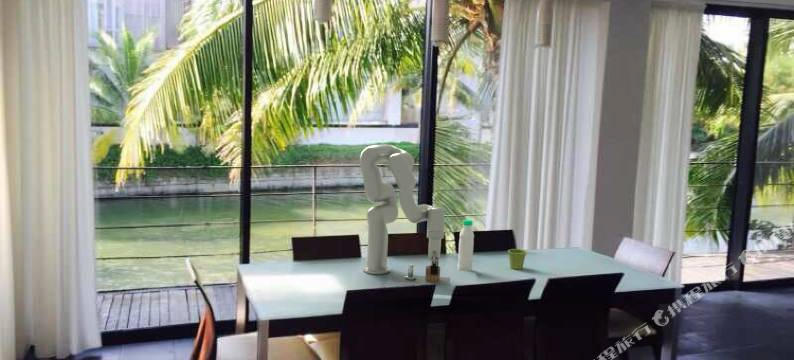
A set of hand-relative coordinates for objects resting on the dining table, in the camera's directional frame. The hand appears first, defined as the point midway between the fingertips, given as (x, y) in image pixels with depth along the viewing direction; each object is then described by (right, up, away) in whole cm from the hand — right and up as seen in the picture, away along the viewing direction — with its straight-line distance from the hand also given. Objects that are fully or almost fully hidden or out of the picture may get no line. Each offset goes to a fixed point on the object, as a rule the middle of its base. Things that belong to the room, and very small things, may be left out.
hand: (434, 271), depth 300 cm
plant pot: (+43, -3, +34) cm, 55 cm away
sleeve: (-1, -4, +1) cm, 4 cm away
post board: (-6, -5, +1) cm, 8 cm away
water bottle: (+16, -3, +26) cm, 31 cm away
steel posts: (-6, -4, +1) cm, 8 cm away
